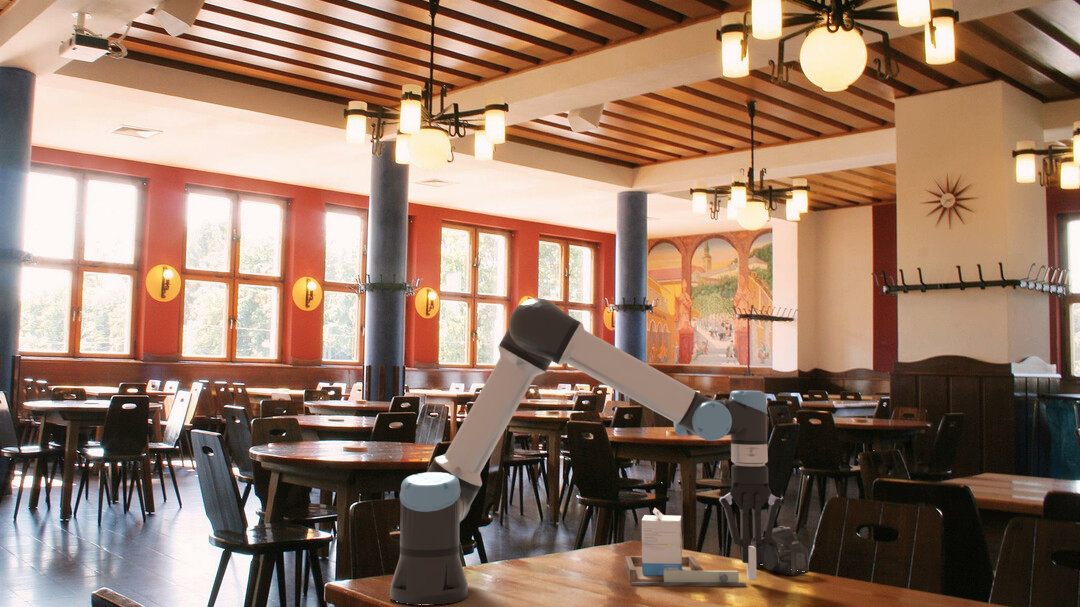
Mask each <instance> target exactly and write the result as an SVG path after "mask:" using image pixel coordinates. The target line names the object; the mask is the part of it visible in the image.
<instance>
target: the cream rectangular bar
mask: <svg viewBox="0 0 1080 607" xmlns="http://www.w3.org/2000/svg"><path fill="white" fill-rule="evenodd" d="M739 573H740V572H739V571H738V570H703V571H689V570H664V582H717V583H740V581H739V580H740V579H739V577H740V576H739V575H740V574H739Z"/></svg>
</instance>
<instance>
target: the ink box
mask: <svg viewBox="0 0 1080 607" xmlns="http://www.w3.org/2000/svg"><path fill="white" fill-rule="evenodd" d="M652 513H653V514H654V515H651V514H650V515H649V514H644V515H643V516H642V518H641V556H642V573H643V575H651V576H653V575H654V576H664V570H682V556H683V544H682V543H683V540H682V539H683V538H682V532H683V531H682V515H671V514H670V515H666V514H663V513H662V512H661V511H660V510H659V509H657V508H656V507H654V508H653V510H652Z"/></svg>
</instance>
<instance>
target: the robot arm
mask: <svg viewBox="0 0 1080 607" xmlns="http://www.w3.org/2000/svg"><path fill="white" fill-rule="evenodd" d="M497 347H498V351H499V355H500V356H499V359H498V360H497V363H496V364H495V366H494V368H493V370H492V371H491V373H490V374H489V376H488V378H487V380H486V382H485V384H484V385H483V387H482V388H481V391H480V393H479V394H478V396H477V398H476V399H475V401H474V402H473V405H472V406H471V408H470V410H469V411H468V413H467V415H466V417H465V418H464V420H463V422H462V423H461V425H460V427H459V429H458V430H457V433H456V434H455V436H454V438H453V439H452V441H451V443H450V444H449V446H448V448H447V450H446V452H445V453H444V454H442V455H438V456H435V457H434V458H433V461H432V462H431V463H430V466H429V467H428V469H427V471H426V472H421V473H416V474H412V475H409V476H407V477H406V478H404V479H403V480H402V482H401V485H400V492H399V501H400V502H399V504H400V513H399V515H400V516H399V517H400V518H399V520H400V521H399V528H400V529H399V559H398V562H397V565H396V568H395V571H394V575H393V577H392V579H391V584H390V588H389V591H390V592H389V594H390V595H389V598H390V597H391V598H392V599H393V600H395V601H398V602H402V603H408V604H421V605H420V606H423V605H422V604H442V605H447V603H449V604H453V603H457V602H460V601H464V600H465V599H466V598H467V597H469V596H468V594H469V588H468V587H469V585H468V581H467V577H466V574H465V570H464V567H463V564H462V561H461V557H460V523H461V522H462V521H463V520H464V519H466V517H467V515H468V513H469V511H470V510H471V505H472V503H473V501H474V500H475V498H476V496H477V495H478V493H479V491H480V489H481V487H482V485H483V481H482V477H481V472H482V471H483V469H484V468H485V465H487V464H486V463H487V462H488V460H489V459H490V457H491V455H492V453H493V452H494V450H495V448H496V447H497V445H498V443H499V441H500V439H501V437H502V436H503V434H504V432H505V430H506V428H507V427H508V425H509V424H510V422H511V420H512V418H513V416H514V414H515V413H516V411H517V409H518V408H519V405H520V404H521V402H522V400H523V399H524V397H525V395H526V393H527V392H528V390H529V388H530V386H531V385H532V383H533V381H534V380H535V378H536V377H537V376H539V375H544V374H546V372H547V370H548V368H549V367H550V365H551V363H552V362H553V363H555V364H557V365H558V366H561V365H565V364H567V365H569V366H571V367H573V368H574V369H577V370H578V371H581V373H583V374H586V375H588V376H589V377H591V378H593V379H595V380H597V381H598V382H600V383H602V384H604V385H605V386H608V387H609V388H612V389H613V390H615V391H617V392H618V393H620V394H622V395H624V396H626V397H628V398H629V399H632V400H633V401H635V402H637V403H639V404H641V405H642V406H644V407H646V408H648V409H650V410H652V411H653V412H655V413H657V414H659V415H661V416H663V417H664V418H666V419H668V420H669V421H671V422H673V430H674V433H675V434H676V435H678V436H687V437H692V436H698V437H699V438H700V439H703V440H705V441H708V442H712V441H717V440H718V441H719V440H721V439H723V438H725V437H726V436H730V453H731V454H730V456H731V457H730V459H731V460H730V461H731V462H732V463H733V464H732V465H731V467H730V468H731V474H730V475H731V485H730V488H729V492H728V493H727V494H725V495H724V496H720V497H719V498H718V502H719V503H720V504H721V506H722V507H723V509H724V513H725V518H726V520H727V521H726V522H727V526H728V530H729V533H730V537H731V541H732V542H733V543H734V544H735V545H738V546H740V550H741V551H740V553H741V556H740V557H741V561H742V563H743V564H746V579H747V580H749V581H757V569H756V563H760V562H761V547H762V546H764V545H768V544H769V543H770V540H771V535H772V531H773V528H774V526H775V522H776V517H777V512H778V509H779V508H780V507H781V504H782V503H783V500H782V499H781V498H780V497H777V496H775V495H774V494H772V491H771V489H770V487H769V467H768V465H766V464H767V463H768V462H769V456H768V453H769V452H768V408H767V395H766V394H765V392H763V391H761V390H732V391H731V392H730V394H729V398H728V399H712V398H710V397H708V396H706V395H704V394H702V393H700V392H698V391H697V390H695V389H693V388H691V387H689V386H687V384H684V383H682V382H680V381H679V380H677V379H675V378H673V377H671V376H670V375H668V374H666V373H664V372H662V371H660V370H658V369H657V368H656V367H655V368H654V367H653V366H651V365H650V364H647V363H646V362H644V361H642V360H640V359H638V358H636V357H635V356H633V355H631V354H629V353H627V352H626V351H623V350H622V349H620V348H618V347H616V346H614V345H613V344H611V343H609V342H607V341H606V340H603V339H602V338H600V337H598V336H596V334H595V335H594V334H592V333H591V332H589V331H587V330H586V329H585V327H584V324H583V322H581V321H580V320H577V319H575V317H572V316H571V315H570V314H568V313H566V311H563V310H562V309H561V308H560V307H559V306H557V305H556V304H555V303H553V302H552V301H551V300H548V299H545V298H540V297H536V298H529V299H527V300H524V301H522V302H521V303H519V304H518V305H517V306H516V307H515V309H513V311H512V313H511V315H510V318H509V323H508V329H507V331H506V332H505V333H504V336H503V337H502V340H501V341H500V342H499V345H498V346H497ZM732 500H734V502H735V503H736V505H737V506H738V507H739V513H740V515H739V517H740V518H739V519H740V520H739V522H740V526H739V527H740V536H739V531H738V528H737V524H736V521H735V516H734V512H733V508H732V506H731V505H732V504H733V501H732ZM767 501H768V505H769V506H768V509H767V514H766V517H765V523H764V527H763V531H762V508H763V506H764V505H765V504H766V502H767ZM750 510H751V513H752V539H753V544H754V546H752V545H750V542H749V540H750V537H749V536H750V535H749V530H750V529H749V528H750V527H749V514H750V513H749V512H750ZM762 533H763V535H762ZM761 535H762V538H761ZM391 598H390V599H391ZM393 600H392V601H393ZM395 601H394V602H395ZM398 602H397V603H398ZM402 603H401V604H402ZM408 604H407V605H408Z"/></svg>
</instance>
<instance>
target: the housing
mask: <svg viewBox="0 0 1080 607" xmlns="http://www.w3.org/2000/svg"><path fill="white" fill-rule="evenodd" d="M624 569H625V572H626V574H627V578H628V581H629V583H630V586H632V587H633V586H637V587H638V586H639V587H641V586H644V587H645V586H647V587H648V586H650V587H651V586H652V587H653V586H654V587H657V586H660V587H667V586H668V587H670V586H671V587H672V586H673V587H674V586H676V587H746V586H747V583H746V582H739V583H717V582H664V576H654V575H653V576H651V575H643V573H642V555H624ZM682 570H689V571H704V569H703V568H702V566H701V565H700V563H699V562H698V561H697V560H696V558H695V557H694V556H692V555H691V556H690V555H689V556H688V555H686V556H685V555H682Z"/></svg>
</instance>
